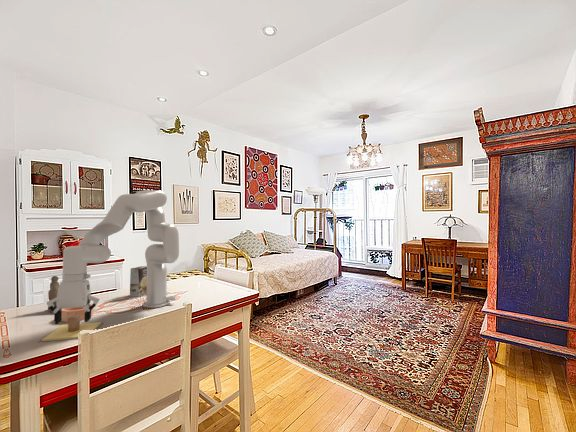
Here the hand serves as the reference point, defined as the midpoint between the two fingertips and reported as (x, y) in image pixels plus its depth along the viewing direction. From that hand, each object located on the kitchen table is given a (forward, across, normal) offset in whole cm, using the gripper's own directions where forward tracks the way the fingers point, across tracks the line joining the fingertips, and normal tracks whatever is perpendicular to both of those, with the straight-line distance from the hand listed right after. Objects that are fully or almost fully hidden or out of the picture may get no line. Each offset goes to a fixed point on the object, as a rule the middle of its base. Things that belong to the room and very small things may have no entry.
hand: (72, 321), depth 108 cm
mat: (+4, 0, 0) cm, 5 cm away
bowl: (+4, +6, -18) cm, 20 cm away
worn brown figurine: (+4, +20, -32) cm, 38 cm away
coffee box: (+4, -11, -54) cm, 56 cm away
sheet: (+4, 0, 0) cm, 4 cm away
